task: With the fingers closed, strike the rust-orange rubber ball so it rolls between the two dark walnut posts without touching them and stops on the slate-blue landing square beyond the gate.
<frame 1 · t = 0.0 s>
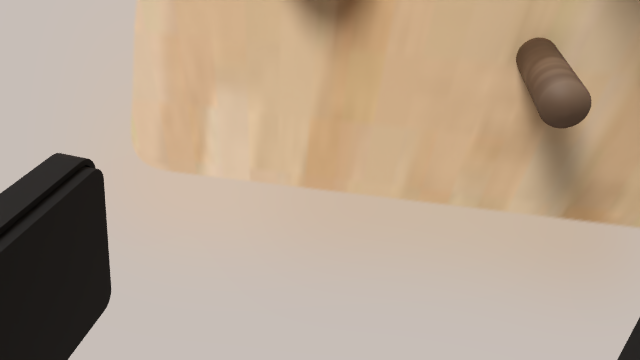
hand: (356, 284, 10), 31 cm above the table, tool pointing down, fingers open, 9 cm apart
post near camera: (536, 57, 38), on the table
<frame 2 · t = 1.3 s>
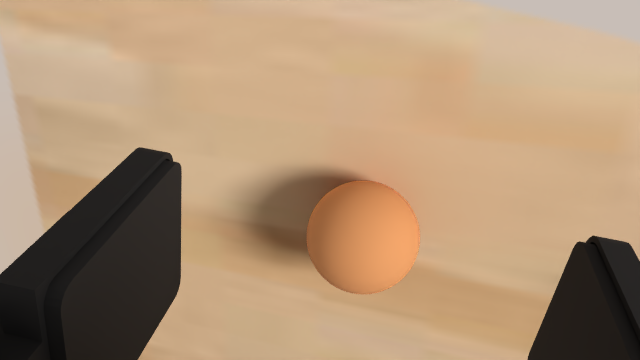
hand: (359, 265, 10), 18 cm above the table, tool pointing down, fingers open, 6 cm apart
ball: (362, 236, 28), on the table
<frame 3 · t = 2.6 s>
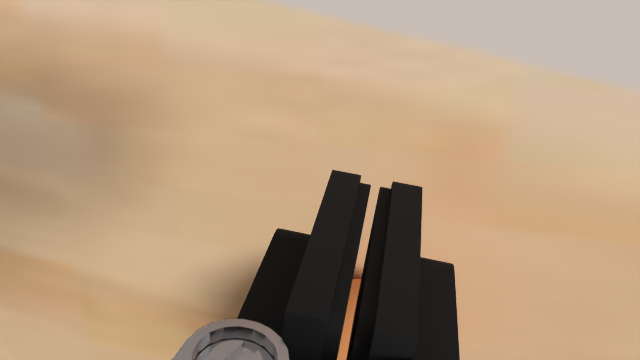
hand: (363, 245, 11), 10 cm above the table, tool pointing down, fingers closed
ball: (359, 352, 22), on the table
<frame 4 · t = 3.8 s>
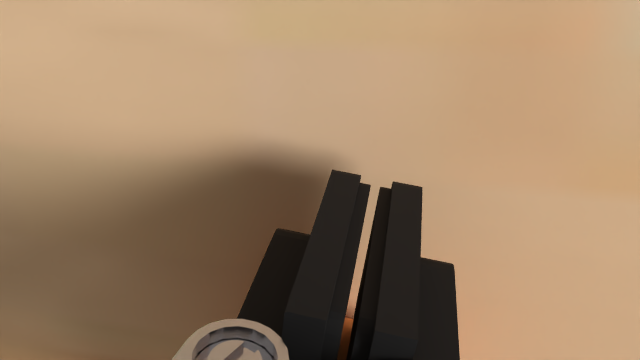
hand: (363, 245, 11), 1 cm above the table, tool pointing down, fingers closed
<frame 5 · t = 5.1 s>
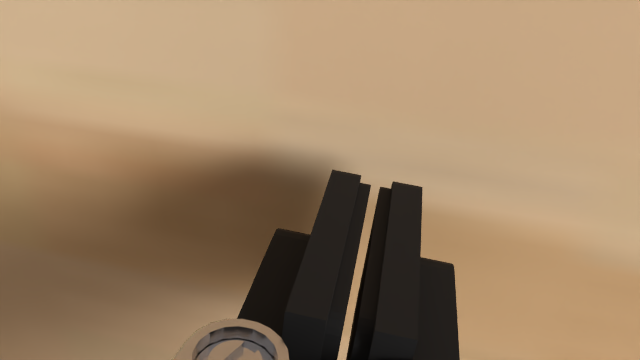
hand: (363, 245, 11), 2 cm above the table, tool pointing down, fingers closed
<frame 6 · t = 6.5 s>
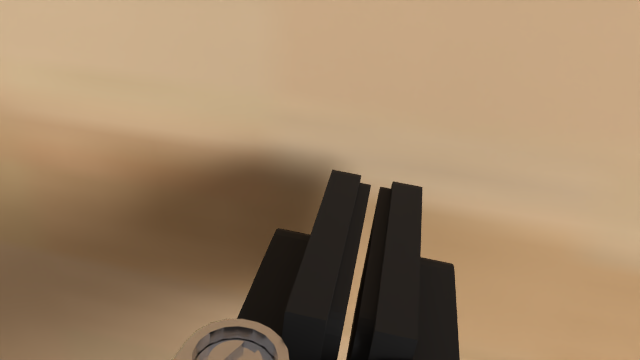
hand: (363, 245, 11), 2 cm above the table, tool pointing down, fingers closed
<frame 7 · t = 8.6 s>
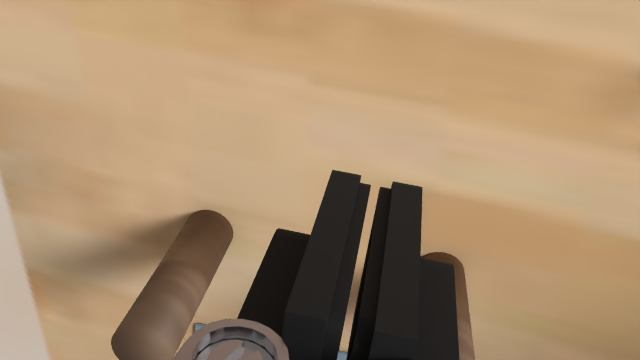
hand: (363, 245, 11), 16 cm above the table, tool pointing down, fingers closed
post near camera: (210, 230, 31), on the table
post near arm: (439, 272, 30), on the table
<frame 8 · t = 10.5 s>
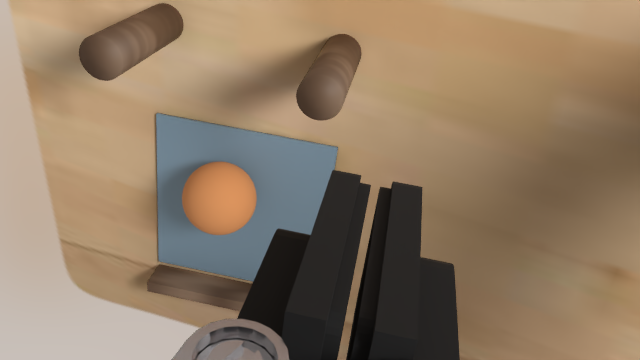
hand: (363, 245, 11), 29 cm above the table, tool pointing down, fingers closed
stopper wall: (235, 285, 50), on the table
post near camera: (165, 22, 40), on the table
ball: (219, 198, 43), on the table
post near arm: (342, 53, 39), on the table
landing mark: (241, 208, 46), on the table
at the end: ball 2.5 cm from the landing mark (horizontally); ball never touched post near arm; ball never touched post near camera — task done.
